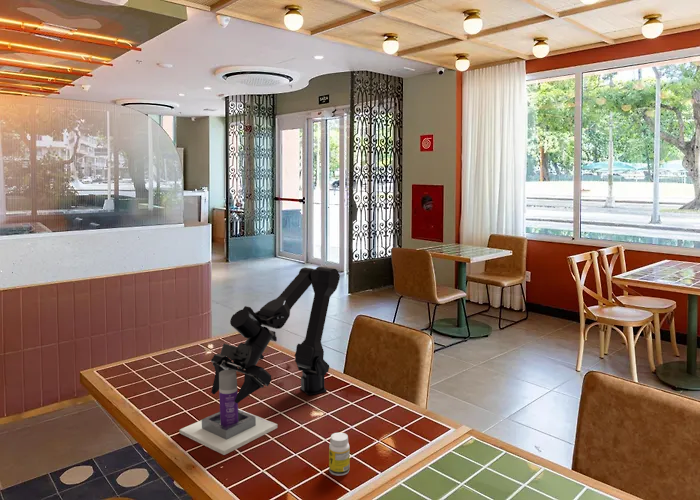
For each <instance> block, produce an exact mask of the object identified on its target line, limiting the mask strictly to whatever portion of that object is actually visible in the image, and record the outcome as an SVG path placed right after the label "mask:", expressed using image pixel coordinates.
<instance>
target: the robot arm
mask: <svg viewBox="0 0 700 500" xmlns="http://www.w3.org/2000/svg"><path fill="white" fill-rule="evenodd" d="M340 278H341V275H340V273H339V271H338V269H337V268H334V267H327V266H317V267H316V268H312V267H311V268H310V267H302V268H300V269H299V272H298V273H297V275H296V276H295V277H294V279H292V280H291V281H290V283H289V284H288V285H287V286H286V287H285V289H284V290H283V291H282V292H281V293H280V294H279V295H278V297H276V298H274V299H272V300H270V301H267V302H266V303H265V304H264V305H263V306H262V307H261V308H260V309H259V310H258V311H255V312H254V310H253V309H252V308H251V307H250V306H247V305H245V306H244V307H243V309H239V310H237V312H235V313H234V314H232V316H231V317H230V322H229V324H230V326H231V327H232V328H233V329H234V330H235V331H237V332H238V334H240V335H241V336H242V337H243V338H245V341H244V343H243V342H241V343H239V344H238V345H237V346H235V345H233V344H229V343H223V344H222V347H221V351H220V353H216V354H214V355H213V357H212V358H211V359H210V362H211V363H212V366H213V367H214V370H215V371H214V372H215V373H214V379H213V382H212V388H211V392H210V393H211V394H213V395H215V394H216V393H217V392H219V372H221V371H223V370H235V371H236V372H238V373H241V374H244V375H243V377H244V379H243V383H242V385H241V387H240V389H239V391H237V393H238V394H237V396H236V398H235V401H234V402H235V403H238V404H239V403H240V402H242V401H243V400H245V399H246V398H247V397H248V396H250V395H251V394H253V393H255V392H256V391H258V390H259V389H261V388H262V389H264V387H269V385H270V384H271V382H272V375H271V373H270V372H268V371H267V370H266V369H265V368H263V367H261V366H260V365H257V364H258V362H259V361H260V360H261V361H262V360H264V358H265V356H264V355H263V353H264V352H265V350H266V349H267V347H268V345H269V344H270V342H271V341H272V342H277V341H278V340H277V334H276V331H274V330H270V329H269V328H272V329H276V330H280V329H282V328H283V327H284V326H285V325H286V323H287V321H288V319H289V318H290V315H291V309H292V308H293V307H294V305H296V303H297V301H299V299H300V298H301V297H302V296H303V294H305V292H306V291H307V290H308V289H309V288H310V286H312V289H313V293H314V295H313V298H312V299H313V300H312V304H311V309H310V313H309V314H310V315H309V318H308V319H309V320H308V323H307V328H306V333H305V338H304V340H303V341H302V342H301V343H297V344H296V350H295V354H294V358H295V359H294V362H295V364H296V365H297V369H298V371H300V372H302V373H301V375H302V376H301V377H300V389H301V391H302V392H304V393H305V394H306V395H308V396H312V395H317V394H321V393H326V392H327V391H328V390H327V389H326V388H325V375H327V374H328V373H329V369H330V364H329V363H328V362H327V361H325V359H324V355H325V354H324V352H325V351H324V348H323V344H322V340H323V339H322V338H323V333H324V329H325V324H326V319H327V314H328V308H329V304H330V298H331V296H332V295H333V294H334V293H335V292H336V290H337V288H338V286H339V282H340Z"/></svg>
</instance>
